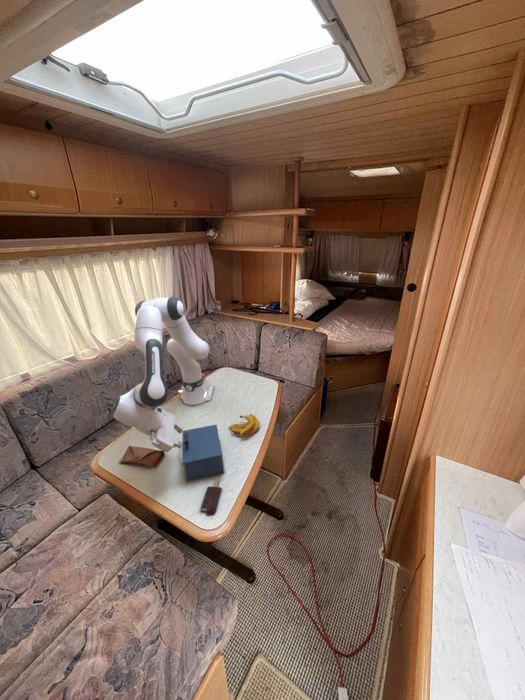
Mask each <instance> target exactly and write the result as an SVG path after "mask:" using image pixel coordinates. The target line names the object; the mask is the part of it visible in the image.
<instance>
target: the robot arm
mask: <svg viewBox="0 0 525 700" xmlns="http://www.w3.org/2000/svg"><path fill="white" fill-rule="evenodd" d="M134 316H135V322H134V330H133V339H134V346H135V348H136V349H137V350H138V351H140V352H141V353H142V354H143V356H144V364H145V366H144V367H145V368H144V369H145V370H144V371H145V373H144V374H145V377H144V380H143V382H140V383H138V384H137V385H135V386H134V387H133V388H132V389H130V390H129V391H128V392H126V393H125V394H122V395H119V396H118V397H117V398H116V399H115V401H114V402H113V405H112V407H111V410H110V411H111V413H110V414H111V416H112V417H113V418H114V419H115V420H117V421H118V422H120V423H122V424H123V425H125V426H128V427H132V428H134V429H135V430H137V431H138V432H139V433H142V434H144V435H146V436H149V440H150V442H151V444H152V445H153V446H154V447H156V448H157V450H161V451H164V453H169V452H170V451H171V450H172V449H173V448H176V449H182V441H178V442H176V440H175V431H176V432H177V433H178V434H182V431H183V427H181V426H179V424H178V423H177V422H176V417H175V416H174V414H172V413H171V412H169V411H168V410H165V409H163V407H161V405H163V403H165V402H166V400H167V399H168V397H169V396H168V395H169V387H168V385H167V382H166V379H165V375H164V354H163V353H164V352H163V332H164V331H163V330H164V329H163V328H165V330H166V331H167V333H168V335H169V336H170V338H169V339H168V341H167V343H166V350H167V352H168V353H169V355H170V356H172V357H173V359H174V360H175V361H176V362H177V365H178V366H179V369H180V373H181V377H182V379H181V381H182V382H181V383H182V385H181V390H178V393H181V395H180V399H181V400H182V401H183V403H184V405H187V406H197V405H201V404H203V403H205V402H208V401H211V398H212V396H213V391H214V386H213V385H211V384H210V381H209V380H207V377H206V378H205V375H206V374H205V373H203V372H202V369H201V364H200V362H199V361H197V360H204V359H206V358H207V357H208V356H209V354H210V345H209V343H208V342H206V341H205V340H203V339H202V338H201V337H199V336H198V335H197V334H196V332H195V331H194V330H193V329H192V328H191V326H190V324H189V322H188V319H187V318H186V316H185V306H184V304H183V301H182V300H181V299H179V297H175V296H170V297H157V298H153V299H148V300H142V301H139V302H137V303H136V305H135V307H134ZM163 326H164V327H163ZM152 407H153V408H154V407H156V408H155V409H154V410H152Z"/></svg>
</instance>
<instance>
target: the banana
mask: <svg viewBox="0 0 525 700" xmlns="http://www.w3.org/2000/svg"><path fill="white" fill-rule="evenodd" d="M239 418H241V419H245V420H246V421H247V422H244V423H235V424H231V425H230V426H229V429H230V431H231V432H232V433H233V434H234V435H236V436H241V437H246V436H247V437H248V436H252V435H253V434H256V432H257V431H258V430H259V428H260V423H261V422H260V420H259V418H258V417H257V415H256V414H253V413H249V414H246V415H240V416H239Z"/></svg>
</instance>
